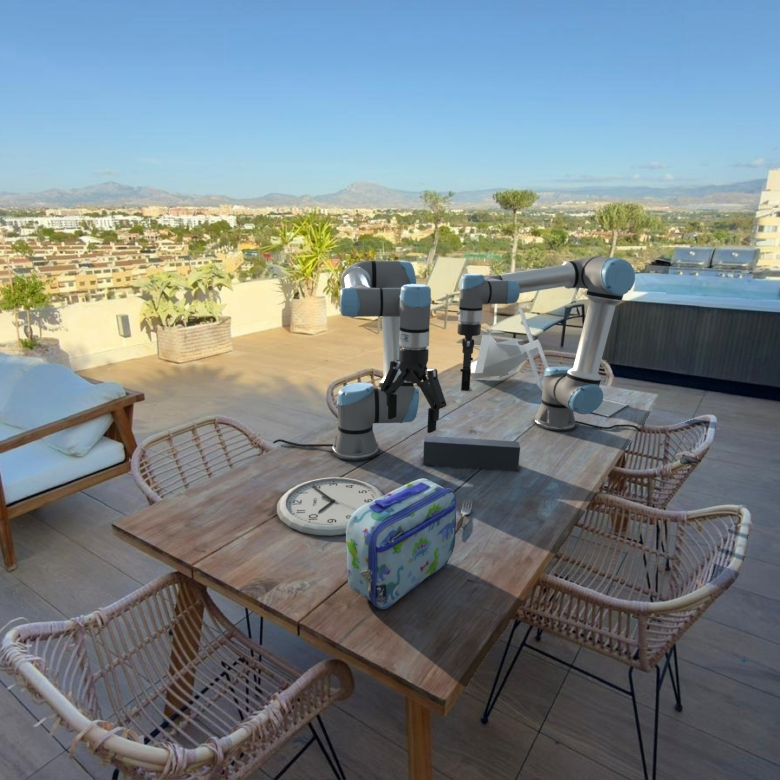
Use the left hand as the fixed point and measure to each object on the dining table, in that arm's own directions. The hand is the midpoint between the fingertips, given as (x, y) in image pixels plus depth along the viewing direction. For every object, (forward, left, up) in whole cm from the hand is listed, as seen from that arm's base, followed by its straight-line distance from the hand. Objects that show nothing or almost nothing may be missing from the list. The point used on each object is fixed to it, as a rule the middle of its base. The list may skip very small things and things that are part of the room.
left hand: (411, 424), depth 139 cm
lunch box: (+16, -31, -23) cm, 42 cm away
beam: (+5, +31, -23) cm, 39 cm away
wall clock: (-16, -14, -23) cm, 31 cm away
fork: (+17, -2, -23) cm, 28 cm away
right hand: (-3, +44, -1) cm, 44 cm away
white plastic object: (-14, +123, -23) cm, 126 cm away
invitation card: (+31, +116, -23) cm, 122 cm away
